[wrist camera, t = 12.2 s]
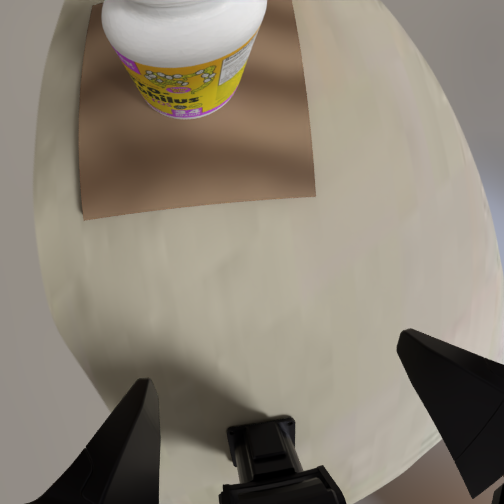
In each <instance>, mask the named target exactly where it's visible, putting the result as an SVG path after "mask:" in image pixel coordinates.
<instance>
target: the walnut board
mask: <svg viewBox="0 0 504 504" xmlns="http://www.w3.org/2000/svg"><path fill="white" fill-rule="evenodd" d="M102 7H103V3H100V4H97V5H93V6H92V11H91V16H90V21H89V26H88V31H87V37H86V43H85V50H84V58H83V66H82V76H81V87H80V103H79V171H80V187H81V199H82V210H83V219H84V221H85V220H91V219H97V218H104V217H111V216H118V215H125V214H132V213H140V212H147V211H155V210H164V209H172V208H181V207H190V206H200V205H210V204H220V203H231V202H243V201H255V200H268V199H283V198H299V197H316V191H315V176H314V163H313V151H312V140H311V129H310V120H309V110H308V102H307V93H306V86H305V78H304V71H303V64H302V57H301V50H300V44H299V38H298V32H297V26H296V21H295V15H294V10H293V5H292V0H267V7H266V11H265V15H264V17H263V20H262V23H261V26H260V28H259V31H258V33H257V36H256V38H255V41H254V43H253V46H252V49H251V51H250V54H249V57H248V60H247V63H246V66H245V68H244V71H243V74H242V77H241V80H240V82H239V85H238V87H237V89H236V91H235V93H234V94H233V96H232V97H231V98H230V100H229V101H228V102H227V103H226V104H225V105H224V106H222V107H221V108H220V109H218V110H217V111H215V112H213V113H211V114H209V115H206V116H204V117H200V118H196V119H175V118H171V117H167V116H165V115H162V114H160V113H158V112H157V111H155V110H154V109H153V108H152V107H151V106H150V105H149V104H148V103H147V102H146V100H145V99H144V98H143V96H142V94H141V93H140V91H139V90H138V88H137V86H136V85H135V83H134V81H133V80H132V78H131V76H130V75H129V73H128V71H127V70H126V68H125V66H124V65H123V63H122V61H121V60H120V58H119V56H118V55H117V53H116V51H115V50H114V48H113V47H112V45H111V43H110V42H109V40H108V38H107V37H106V34H105V32H104V29H103V26H102V18H101V17H102Z"/></svg>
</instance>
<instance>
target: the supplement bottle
mask: <svg viewBox="0 0 504 504" xmlns="http://www.w3.org/2000/svg"><path fill="white" fill-rule="evenodd" d="M266 7H267V0H104V3H103V7H102V17H101V18H102V26H103V29H104V32H105V34H106V37H107V38H108V40H109V42H110V43H111V45H112V47H113V48H114V50H115V51H116V53H117V55H118V56H119V58H120V60H121V61H122V63H123V65H124V66H125V68H126V70H127V71H128V73H129V75H130V76H131V78H132V80H133V81H134V83H135V85H136V86H137V88H138V90H139V91H140V93H141V94H142V96H143V98H144V99H145V100H146V102H147V103H148V104H149V105H150V106H151V107H152V108H153V109H154V110H155V111H157V112H158V113H160V114H162V115H165V116H167V117H171V118H175V119H196V118H200V117H204V116H206V115H209V114H211V113H213V112H215V111H217V110H218V109H220V108H221V107H222V106H224V105H225V104H226V103H227V102H228V101H229V100H230V98H231V97H232V96H233V94H234V93H235V91H236V89H237V87H238V85H239V82H240V80H241V77H242V74H243V71H244V68H245V66H246V63H247V60H248V57H249V54H250V51H251V49H252V46H253V43H254V41H255V38H256V36H257V33H258V31H259V28H260V26H261V23H262V20H263V17H264V15H265V11H266Z"/></svg>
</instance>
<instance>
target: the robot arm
mask: <svg viewBox="0 0 504 504" xmlns="http://www.w3.org/2000/svg"><path fill="white" fill-rule="evenodd" d="M397 353H398V356H399V358H400V360H401V362H402V364H403V366H404V368H405V371H406V373H407V375H408V377H409V379H410V381H411V383H412V385H413V387H414V389H415V390H416V392H417V394H418V395H419V397H420V399H421V401H422V402H423V404H424V406H425V408H426V409H427V411H428V413H429V415H430V417H431V418H432V420H433V422H434V424H435V426H436V427H437V429H438V431H439V433H440V435H441V437H442V438H443V440H444V442H445V444H446V446H447V448H448V450H449V452H450V454H451V456H452V458H453V460H454V461H455V464H456V466H457V468H458V470H459V472H460V474H461V476H462V478H463V480H464V482H465V485H466V487H467V489H468V491H469V493H470V495H471V497H472V499H474V498H475V497H476V496H478V495H479V494H481V493H482V492H483V491H484V490H486V489H487V488H488V487H489V486H491V485H492V484H493V483H495V482H496V481H497V480H498V479H499V478H500V477H502V476H503V477H504V365H503V364H500V363H497V362H495V361H492V360H489V359H487V358H484V357H482V356H479V355H477V354H474V353H472V352H469V351H467V350H464V349H462V348H459V347H456V346H454V345H451V344H449V343H446V342H444V341H441V340H439V339H436V338H434V337H431V336H429V335H426V334H424V333H422V332H419V331H417V330H414V329H411V328H410V329H406V330H403V331H402V332H401V333H400V337H399V340H398V344H397ZM289 422H290V423H289ZM226 432H227V438H228V442H229V447H230V452H231V456H232V461H233V465H234V466H235V467H237V469H238V475H239V481H240V484H233V485H229V484H225V485H223V492H221V494H219V495H218V496H219V504H346V501H345V498H344V496H343V494H342V492H341V490H340V488H339V487H338V486H337V484H336V483H335V482H334V480H333V479H332V477H331V476H330V474H329V473H328V472H327V470H326V469H325V467H324V466H323V465H321V466H318V467H317V468H314V469H310V470H306V471H303V468H302V466H301V463H300V461H299V458H298V456H297V453H296V450H295V420H294V419H293V418H286V419H280V420H275V421H270V422H264V423H258V424H251V425H244V426H237V427H230V428H228V429H227V430H226ZM160 443H161V435H160V419H159V399H158V394H157V392H156V389H155V387H154V385H153V382H152V380H151V379H150V378H139V379H138V380H137V381H136V382H135V383H134V385H133V386H132V387H131V388H130V390H129V391H128V392H127V394H126V395H125V396H124V397H123V399H122V400H121V401H120V403H119V404H118V405H117V406H116V408H115V409H114V410H113V412H112V413H111V414H110V415H109V417H108V418H107V419H106V421H105V422H104V423H103V425H102V426H101V427H100V429H99V430H98V431H97V432H96V434H95V435H94V437H93V438H92V439H91V440H90V442H89V443H88V444H87V445H86V448H84V449H83V451H82V452H81V454H79V456H78V457H77V458H76V459H75V461H74V462H73V463H72V464H71V466H70V467H69V468H68V469H67V470H66V471H65V472H64V473H63V474H62V475H61V477H59V479H57V481H56V482H55V483H53V485H52V486H51V487H50V488H49V489H48V490H47V491H46V492H45V493H44V494H43V495H42V496H40V497H39V498H38V499H36V500H34V501H32V502H30V503H26V504H159V465H160ZM492 504H504V483H503V484H502V485H501V486H500V487H499V488H498V489H496V490H495V491H494V495H493V500H492Z"/></svg>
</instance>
